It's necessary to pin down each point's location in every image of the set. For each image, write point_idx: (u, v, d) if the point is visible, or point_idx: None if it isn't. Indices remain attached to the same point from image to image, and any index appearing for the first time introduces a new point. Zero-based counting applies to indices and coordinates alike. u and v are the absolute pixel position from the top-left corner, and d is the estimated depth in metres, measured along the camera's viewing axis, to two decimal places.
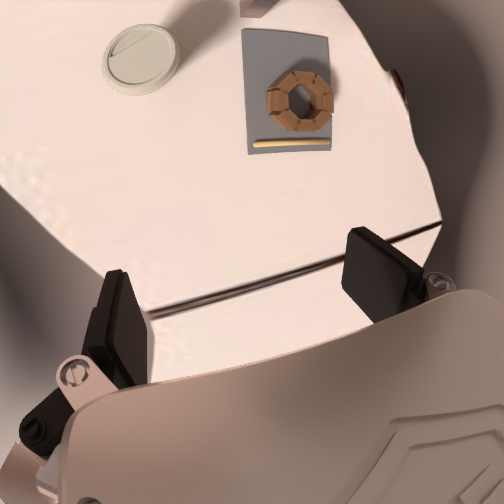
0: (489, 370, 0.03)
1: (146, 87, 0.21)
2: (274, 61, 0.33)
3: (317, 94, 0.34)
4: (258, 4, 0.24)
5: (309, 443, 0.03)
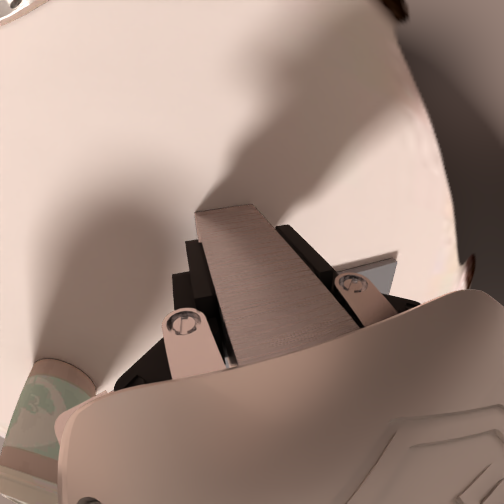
0: (489, 370, 0.03)
1: None
2: None
3: None
4: None
5: (309, 443, 0.03)
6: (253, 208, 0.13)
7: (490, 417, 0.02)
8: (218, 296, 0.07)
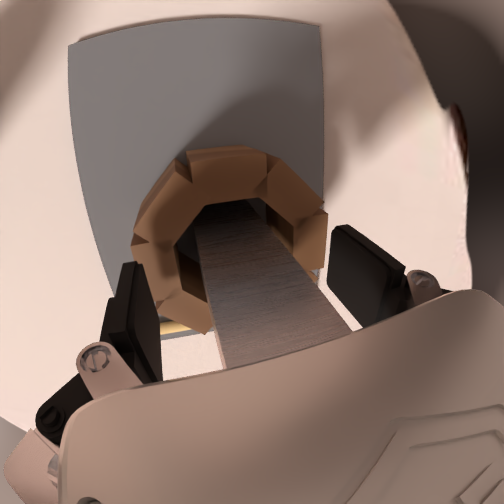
0: (489, 370, 0.03)
1: None
2: (155, 116, 0.12)
3: None
4: None
5: (309, 443, 0.03)
6: (244, 200, 0.15)
7: (490, 417, 0.02)
8: (204, 270, 0.09)
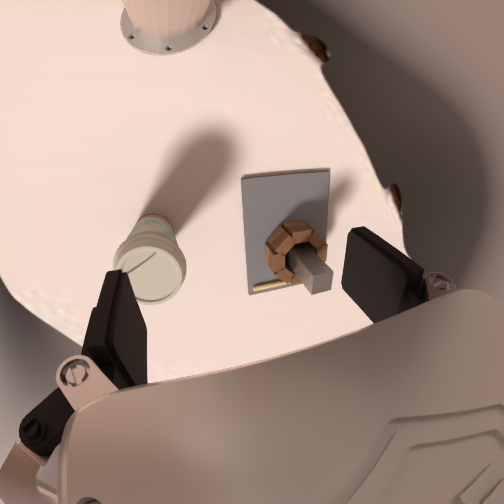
0: (489, 370, 0.03)
1: (161, 302, 0.30)
2: (273, 211, 0.41)
3: (312, 244, 0.42)
4: None
5: (309, 443, 0.03)
6: None
7: (490, 417, 0.02)
8: (300, 260, 0.38)
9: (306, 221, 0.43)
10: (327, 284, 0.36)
